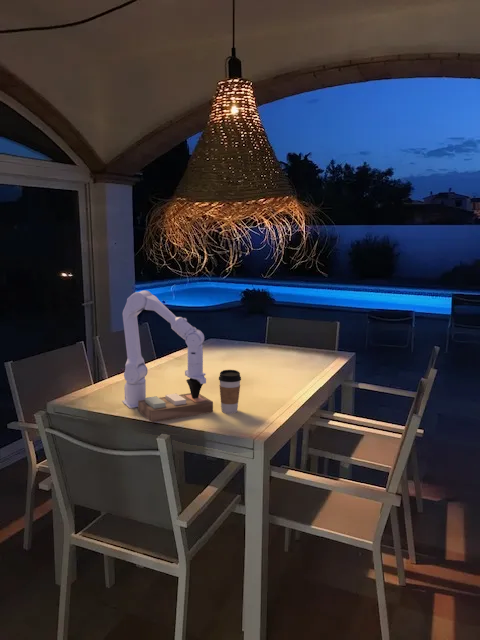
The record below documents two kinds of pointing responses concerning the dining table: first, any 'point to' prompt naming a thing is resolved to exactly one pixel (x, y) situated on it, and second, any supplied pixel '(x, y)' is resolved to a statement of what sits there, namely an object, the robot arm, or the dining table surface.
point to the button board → (175, 409)
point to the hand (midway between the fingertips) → (195, 397)
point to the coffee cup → (229, 390)
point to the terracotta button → (195, 398)
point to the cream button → (175, 399)
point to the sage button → (155, 402)
